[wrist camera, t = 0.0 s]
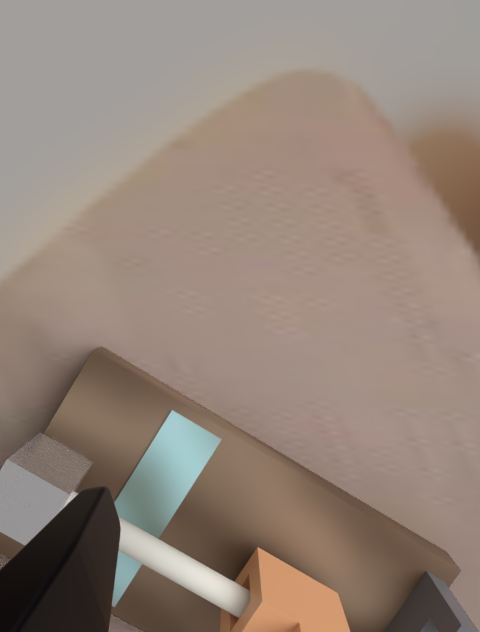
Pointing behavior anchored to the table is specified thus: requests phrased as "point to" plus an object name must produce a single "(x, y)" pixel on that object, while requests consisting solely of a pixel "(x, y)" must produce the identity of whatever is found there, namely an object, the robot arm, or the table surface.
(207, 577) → the cord
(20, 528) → the block
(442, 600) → the cable comb
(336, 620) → the orange stepped block
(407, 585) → the cord board
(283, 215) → the table surface
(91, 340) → the table surface
